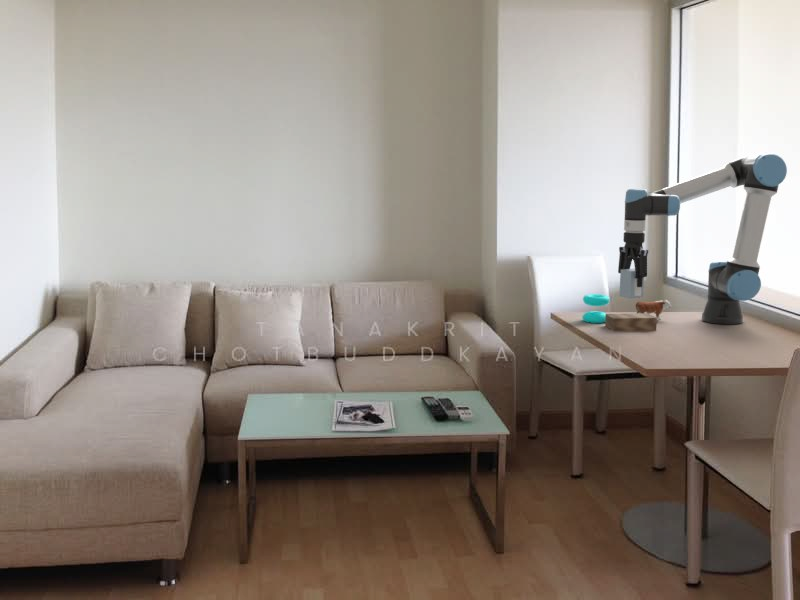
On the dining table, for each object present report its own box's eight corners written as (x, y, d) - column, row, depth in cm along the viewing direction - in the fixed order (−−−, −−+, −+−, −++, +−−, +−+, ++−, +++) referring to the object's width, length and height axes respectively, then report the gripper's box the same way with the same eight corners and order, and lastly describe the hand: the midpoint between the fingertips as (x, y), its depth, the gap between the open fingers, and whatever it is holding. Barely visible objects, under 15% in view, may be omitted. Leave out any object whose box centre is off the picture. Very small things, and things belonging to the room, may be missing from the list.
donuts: (601, 298, 361) (578, 295, 367) (600, 324, 362) (577, 321, 369) (614, 295, 368) (591, 293, 375) (613, 321, 370) (590, 318, 376)
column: (632, 295, 358) (633, 268, 356) (643, 297, 352) (644, 270, 351) (619, 296, 355) (620, 269, 354) (629, 298, 350) (631, 271, 348)
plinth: (646, 326, 361) (647, 313, 361) (656, 331, 351) (656, 317, 351) (605, 327, 360) (605, 313, 359) (613, 332, 350) (614, 318, 349)
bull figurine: (671, 321, 369) (672, 300, 368) (635, 320, 372) (636, 299, 370) (669, 319, 374) (670, 299, 372) (634, 318, 376) (635, 298, 375)
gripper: (609, 230, 357) (606, 291, 360) (643, 234, 340) (640, 298, 344) (625, 229, 360) (622, 290, 364) (660, 233, 343) (656, 297, 347)
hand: (631, 294), depth 354 cm, fingers closed on column, 6 cm apart
